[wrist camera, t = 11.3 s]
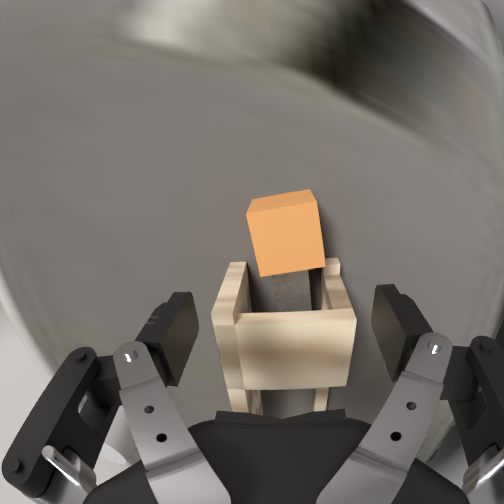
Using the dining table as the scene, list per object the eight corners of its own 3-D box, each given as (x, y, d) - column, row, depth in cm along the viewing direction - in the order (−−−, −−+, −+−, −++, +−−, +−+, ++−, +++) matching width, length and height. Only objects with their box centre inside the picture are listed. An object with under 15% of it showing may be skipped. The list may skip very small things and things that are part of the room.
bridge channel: (323, 408, 34) (327, 458, 27) (252, 410, 36) (245, 460, 28) (337, 257, 26) (358, 308, 18) (230, 262, 27) (211, 313, 19)
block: (318, 242, 26) (325, 266, 21) (264, 251, 26) (260, 276, 22) (309, 189, 24) (316, 201, 19) (252, 199, 25) (246, 214, 20)
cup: (103, 364, 36) (66, 422, 25) (153, 384, 36) (123, 450, 25) (108, 393, 39) (79, 447, 28) (152, 411, 39) (128, 470, 28)
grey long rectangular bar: (312, 345, 30) (314, 367, 27) (286, 348, 31) (286, 370, 28) (304, 246, 26) (307, 262, 23) (271, 250, 26) (270, 266, 23)
